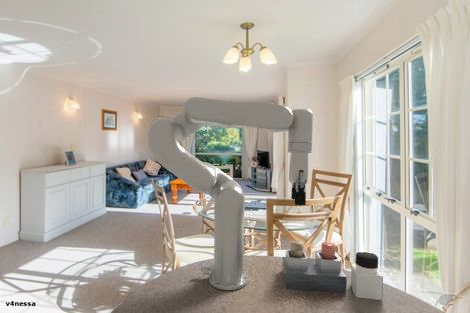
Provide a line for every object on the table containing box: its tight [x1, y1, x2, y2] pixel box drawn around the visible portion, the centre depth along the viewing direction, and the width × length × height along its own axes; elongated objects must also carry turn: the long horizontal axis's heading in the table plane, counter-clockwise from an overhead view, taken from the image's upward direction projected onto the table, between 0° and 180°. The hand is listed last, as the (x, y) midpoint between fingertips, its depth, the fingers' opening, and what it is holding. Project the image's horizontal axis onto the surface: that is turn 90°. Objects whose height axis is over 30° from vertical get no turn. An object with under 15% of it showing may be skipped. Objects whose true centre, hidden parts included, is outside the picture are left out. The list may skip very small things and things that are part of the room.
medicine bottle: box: [350, 250, 384, 301], centre depth 79 cm, size 7×7×12 cm
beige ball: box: [289, 240, 305, 258], centre depth 86 cm, size 4×4×4 cm
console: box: [281, 249, 348, 294], centre depth 86 cm, size 18×12×9 cm, turn 84°
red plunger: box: [320, 241, 336, 259], centre depth 85 cm, size 4×4×4 cm
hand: (298, 201), depth 85 cm, fingers open, 8 cm apart
